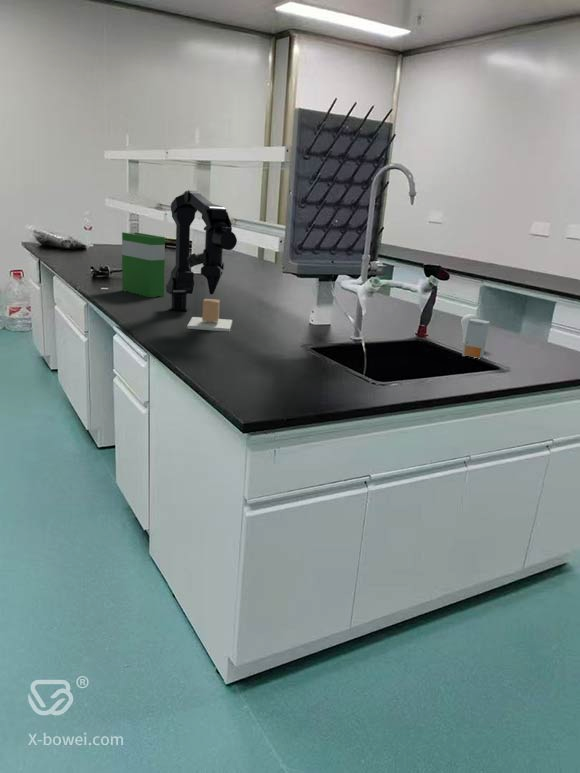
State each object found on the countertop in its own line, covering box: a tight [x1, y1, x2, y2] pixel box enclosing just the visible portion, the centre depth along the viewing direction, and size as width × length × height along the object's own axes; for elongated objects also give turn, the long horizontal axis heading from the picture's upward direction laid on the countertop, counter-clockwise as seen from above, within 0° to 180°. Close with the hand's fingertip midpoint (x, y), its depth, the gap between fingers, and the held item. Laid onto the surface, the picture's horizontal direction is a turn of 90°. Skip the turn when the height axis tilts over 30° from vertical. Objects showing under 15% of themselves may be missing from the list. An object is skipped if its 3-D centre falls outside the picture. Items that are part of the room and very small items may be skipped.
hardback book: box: [121, 231, 166, 298], centre depth 246 cm, size 18×7×24 cm, turn 53°
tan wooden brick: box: [201, 298, 221, 322], centre depth 202 cm, size 5×5×7 cm
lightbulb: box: [460, 313, 480, 344], centre depth 206 cm, size 6×6×11 cm
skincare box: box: [461, 318, 491, 359], centre depth 190 cm, size 6×4×12 cm
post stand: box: [186, 316, 233, 333], centre depth 202 cm, size 14×14×8 cm
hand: (211, 293), depth 200 cm, fingers open, 3 cm apart
